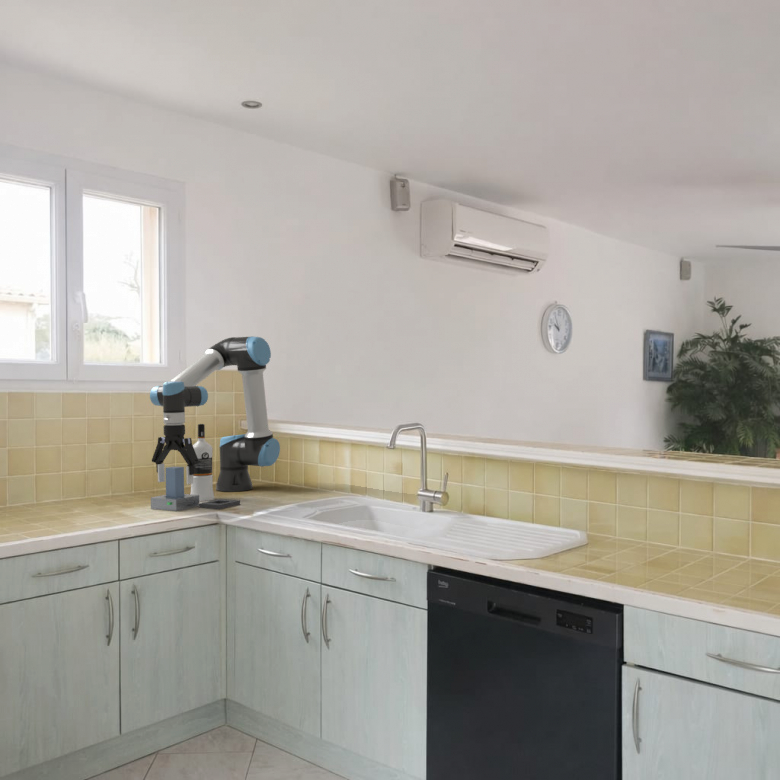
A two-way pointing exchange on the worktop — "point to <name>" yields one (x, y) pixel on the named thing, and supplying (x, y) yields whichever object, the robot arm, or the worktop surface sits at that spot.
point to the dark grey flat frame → (219, 504)
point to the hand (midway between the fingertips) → (175, 482)
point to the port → (174, 502)
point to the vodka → (203, 468)
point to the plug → (174, 482)
